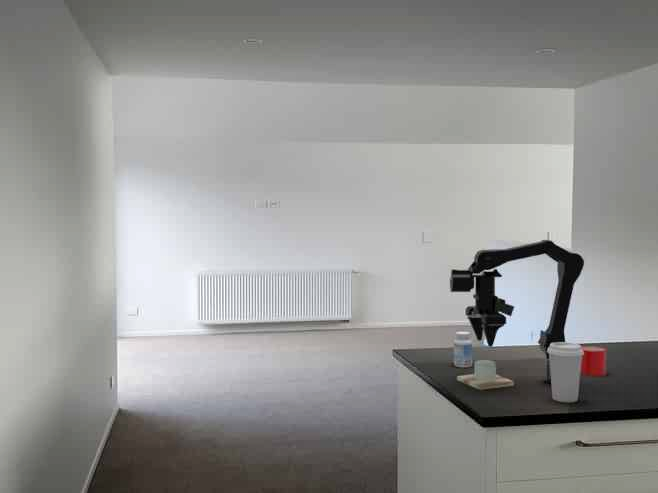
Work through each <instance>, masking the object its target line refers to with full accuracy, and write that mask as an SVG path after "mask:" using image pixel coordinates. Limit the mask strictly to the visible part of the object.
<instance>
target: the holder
mask: <svg viewBox="0 0 658 493" xmlns="http://www.w3.org/2000/svg"><path fill="white" fill-rule="evenodd" d="M456 380H457V381H458V382H461V383H463V384H465V385H467V386H470V387H472V388H474V389H478V390H479V391H482V390H488V389H497V388H503V387H504V388H505V387H511V386H512V387H513V386H514V385H515V381H514V380H511V379H509V378H506V377H503V376H501V375H499V374H496V380H494V381H479V380H475V373H473V374H472V373H471V374H466V375H465V374H463V375H457V376H456Z"/></svg>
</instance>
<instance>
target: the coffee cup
mask: <svg viewBox="0 0 658 493" xmlns="http://www.w3.org/2000/svg"><path fill="white" fill-rule="evenodd" d="M581 347H582V346H581V345H580V343H579V344H578V343H575V342H566V341H565V342H555V343H551V344H550V347H549V348H548V350H547V352H548V353H549V360H548V361H550V373H551V383H550V384H551V395H552V396H551V397H552V400H553V401H557V402H561V403H576V402H577V401H578V400H579V398H578V397H579V388H580V378H581V373H580V370H581V361H582V355H584V352H583V349H582V348H581Z"/></svg>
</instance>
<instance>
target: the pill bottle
mask: <svg viewBox="0 0 658 493" xmlns="http://www.w3.org/2000/svg"><path fill="white" fill-rule="evenodd" d="M470 338H471V333H470V332H469V331H456V332H455V339H454V341H453V365H454V366H455V367H458V368H471V367H472V366H473V341H472V340H471V339H470Z"/></svg>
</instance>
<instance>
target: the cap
mask: <svg viewBox="0 0 658 493" xmlns="http://www.w3.org/2000/svg"><path fill="white" fill-rule="evenodd" d="M474 374H475V380H479V381H494V380H496V375H497V365H496V362H495V361H493V360H485V359H480V360H475V361H474Z"/></svg>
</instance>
